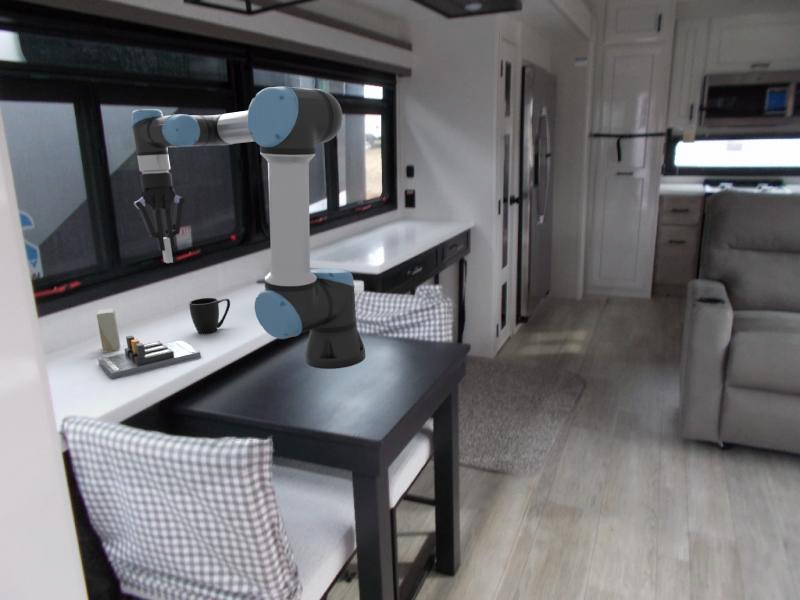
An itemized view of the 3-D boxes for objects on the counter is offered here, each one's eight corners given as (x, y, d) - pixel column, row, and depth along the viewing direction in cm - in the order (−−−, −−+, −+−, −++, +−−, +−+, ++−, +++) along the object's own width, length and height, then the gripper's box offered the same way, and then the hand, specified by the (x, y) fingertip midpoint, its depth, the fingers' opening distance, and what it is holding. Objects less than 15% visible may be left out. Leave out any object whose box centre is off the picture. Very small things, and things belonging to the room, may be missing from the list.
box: (104, 347, 176) (97, 309, 173) (120, 345, 178) (114, 307, 175) (102, 352, 171) (96, 314, 169) (119, 350, 173) (113, 311, 170)
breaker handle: (140, 351, 160) (139, 340, 159) (134, 353, 159) (133, 342, 158) (138, 350, 161) (137, 339, 161) (132, 351, 160) (130, 340, 160)
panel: (200, 357, 164) (197, 334, 162) (112, 378, 151) (108, 354, 149) (183, 345, 174) (180, 323, 173) (99, 364, 162) (94, 341, 160)
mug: (237, 329, 188) (234, 298, 185) (198, 337, 181) (193, 306, 179) (227, 323, 194) (224, 294, 192) (189, 331, 188) (185, 301, 185)
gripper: (175, 170, 167) (187, 257, 172) (124, 174, 159) (139, 264, 165) (185, 170, 161) (197, 259, 167) (133, 174, 153) (148, 267, 159)
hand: (168, 262), depth 166 cm, fingers closed
